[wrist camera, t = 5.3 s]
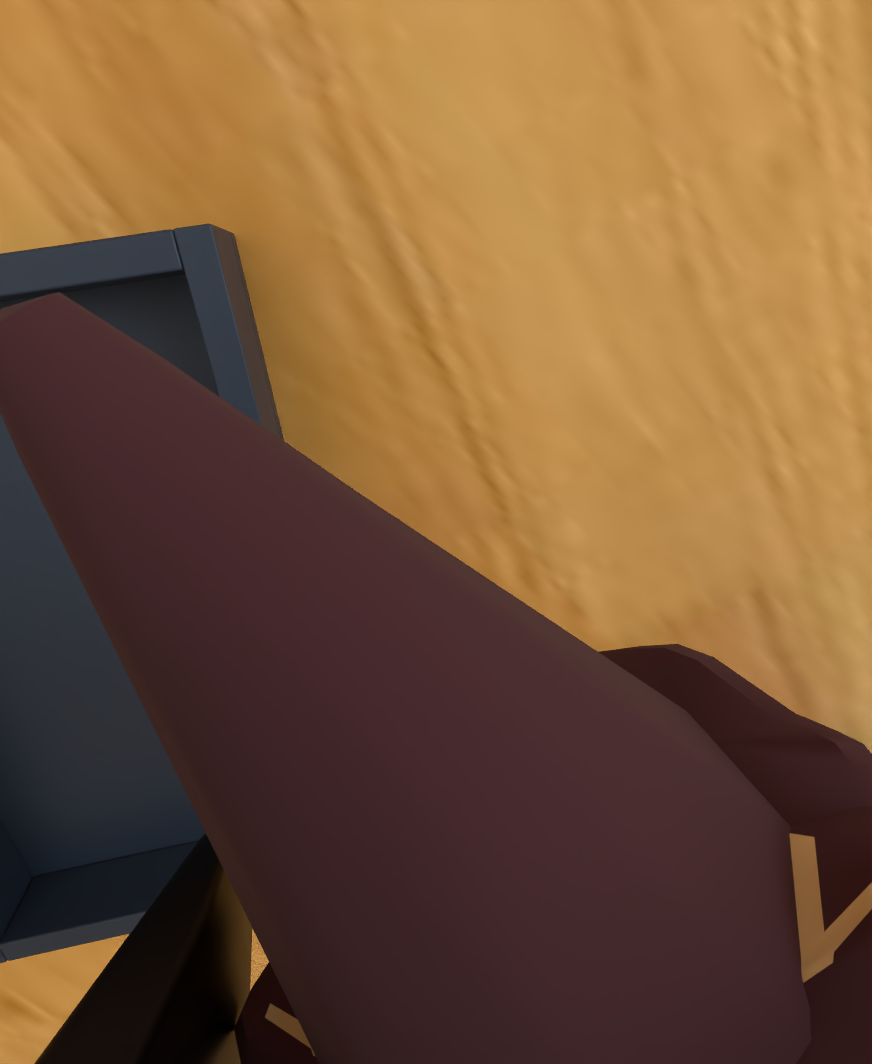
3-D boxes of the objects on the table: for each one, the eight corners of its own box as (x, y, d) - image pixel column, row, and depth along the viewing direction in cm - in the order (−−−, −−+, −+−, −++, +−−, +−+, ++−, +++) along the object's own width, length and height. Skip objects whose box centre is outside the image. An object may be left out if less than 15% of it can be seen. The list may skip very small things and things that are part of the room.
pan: (234, 232, 16) (210, 223, 13) (372, 806, 24) (376, 878, 21) (-299, 309, 15) (-448, 318, 12) (25, 881, 23) (-20, 968, 20)
